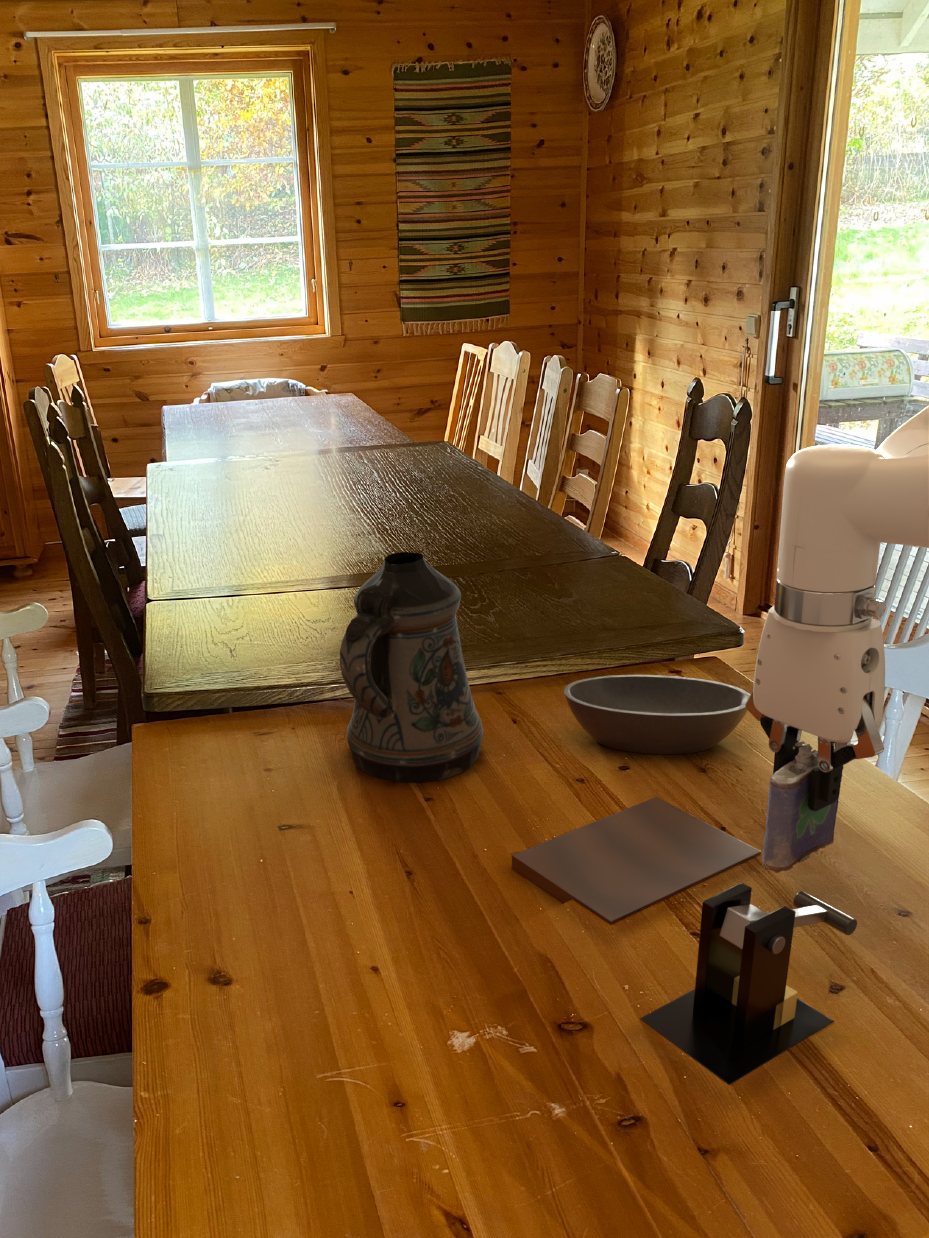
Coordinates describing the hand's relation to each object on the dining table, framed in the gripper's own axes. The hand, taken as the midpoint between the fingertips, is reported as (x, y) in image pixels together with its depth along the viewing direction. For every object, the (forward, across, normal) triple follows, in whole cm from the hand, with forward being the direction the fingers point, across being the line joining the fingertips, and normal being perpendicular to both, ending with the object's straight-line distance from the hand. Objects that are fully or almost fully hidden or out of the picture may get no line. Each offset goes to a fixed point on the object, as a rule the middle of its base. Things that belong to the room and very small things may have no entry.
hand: (804, 796), depth 97 cm
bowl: (+12, +33, -15) cm, 38 cm away
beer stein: (+11, +47, +11) cm, 49 cm away
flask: (+6, 0, 0) cm, 6 cm away
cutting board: (+11, +14, +7) cm, 19 cm away
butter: (+10, -8, +15) cm, 20 cm away
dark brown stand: (+12, -8, +18) cm, 23 cm away
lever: (+4, -9, +13) cm, 16 cm away
